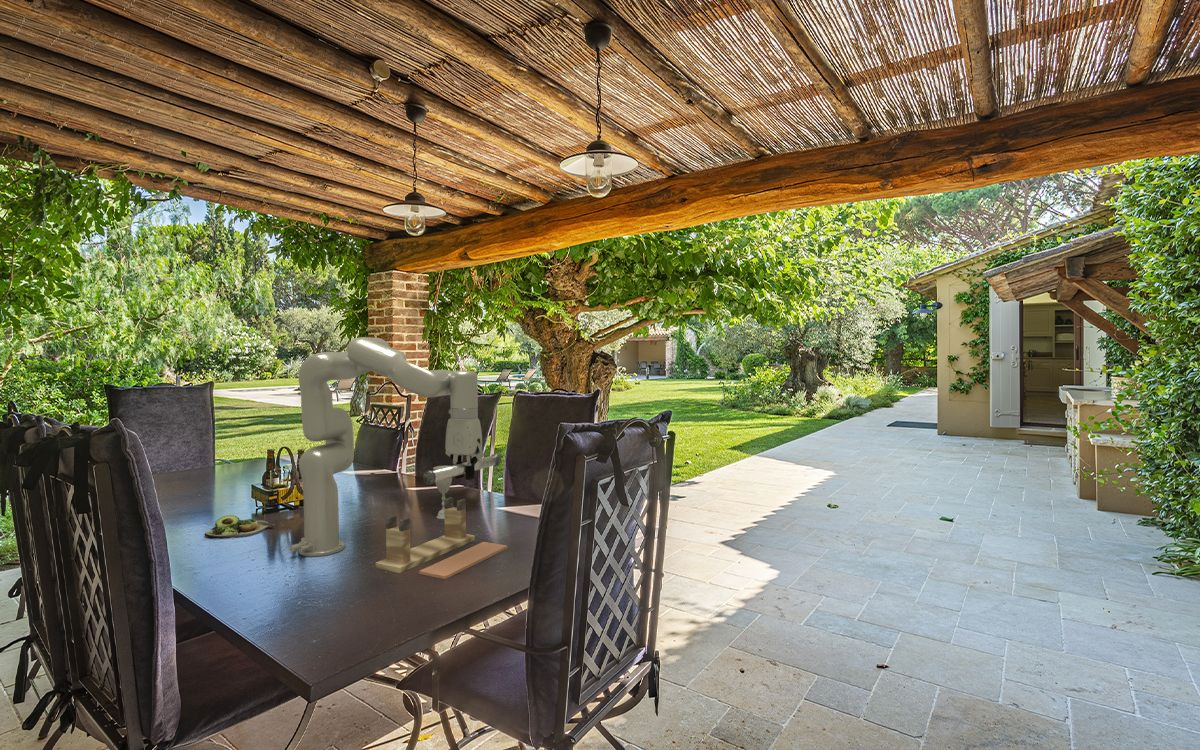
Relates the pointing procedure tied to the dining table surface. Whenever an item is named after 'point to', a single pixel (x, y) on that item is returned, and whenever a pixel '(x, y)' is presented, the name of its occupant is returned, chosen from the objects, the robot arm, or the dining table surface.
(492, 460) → the steel rail
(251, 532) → the salad plate
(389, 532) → the rail stand
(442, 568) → the terracotta mat
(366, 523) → the dining table surface
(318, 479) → the robot arm
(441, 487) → the chalice
